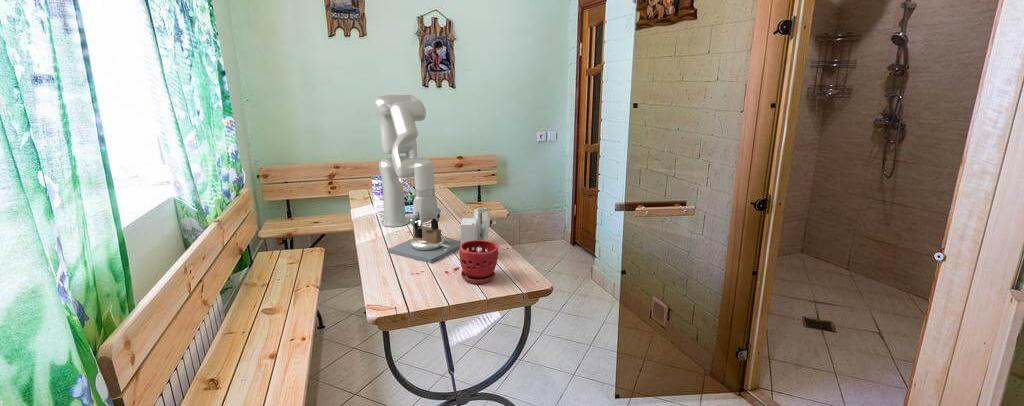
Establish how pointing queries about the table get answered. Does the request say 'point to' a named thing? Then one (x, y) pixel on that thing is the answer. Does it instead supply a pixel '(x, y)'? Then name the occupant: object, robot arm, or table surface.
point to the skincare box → (469, 230)
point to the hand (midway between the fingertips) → (427, 234)
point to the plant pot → (478, 261)
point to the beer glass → (482, 222)
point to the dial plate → (425, 256)
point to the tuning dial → (428, 239)
